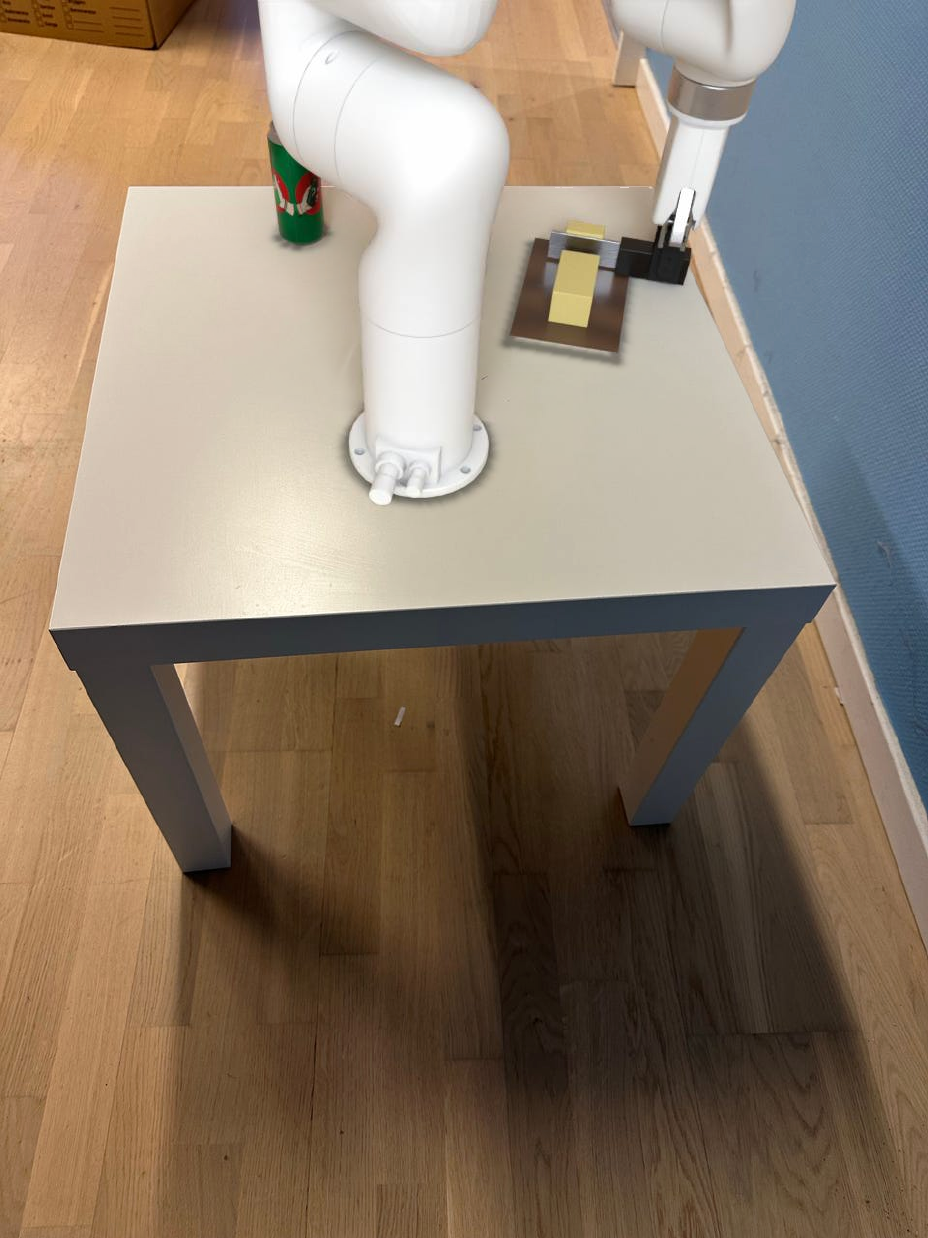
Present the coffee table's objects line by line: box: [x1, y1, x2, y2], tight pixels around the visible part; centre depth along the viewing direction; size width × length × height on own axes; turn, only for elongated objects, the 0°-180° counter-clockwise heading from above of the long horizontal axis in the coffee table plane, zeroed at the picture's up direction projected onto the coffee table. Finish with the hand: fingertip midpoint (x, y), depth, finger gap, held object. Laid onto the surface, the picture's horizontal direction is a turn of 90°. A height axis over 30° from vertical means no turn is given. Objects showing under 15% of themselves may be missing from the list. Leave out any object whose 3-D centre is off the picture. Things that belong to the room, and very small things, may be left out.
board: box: [509, 237, 630, 354], centre depth 95 cm, size 18×11×1 cm, turn 169°
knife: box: [547, 229, 692, 286], centre depth 96 cm, size 15×2×3 cm, turn 79°
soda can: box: [266, 120, 326, 246], centre depth 95 cm, size 5×5×12 cm
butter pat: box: [565, 219, 606, 239], centre depth 97 cm, size 2×4×4 cm, turn 79°
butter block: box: [548, 250, 600, 327], centre depth 92 cm, size 8×4×4 cm, turn 169°
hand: (663, 269), depth 96 cm, fingers closed on knife, 2 cm apart
